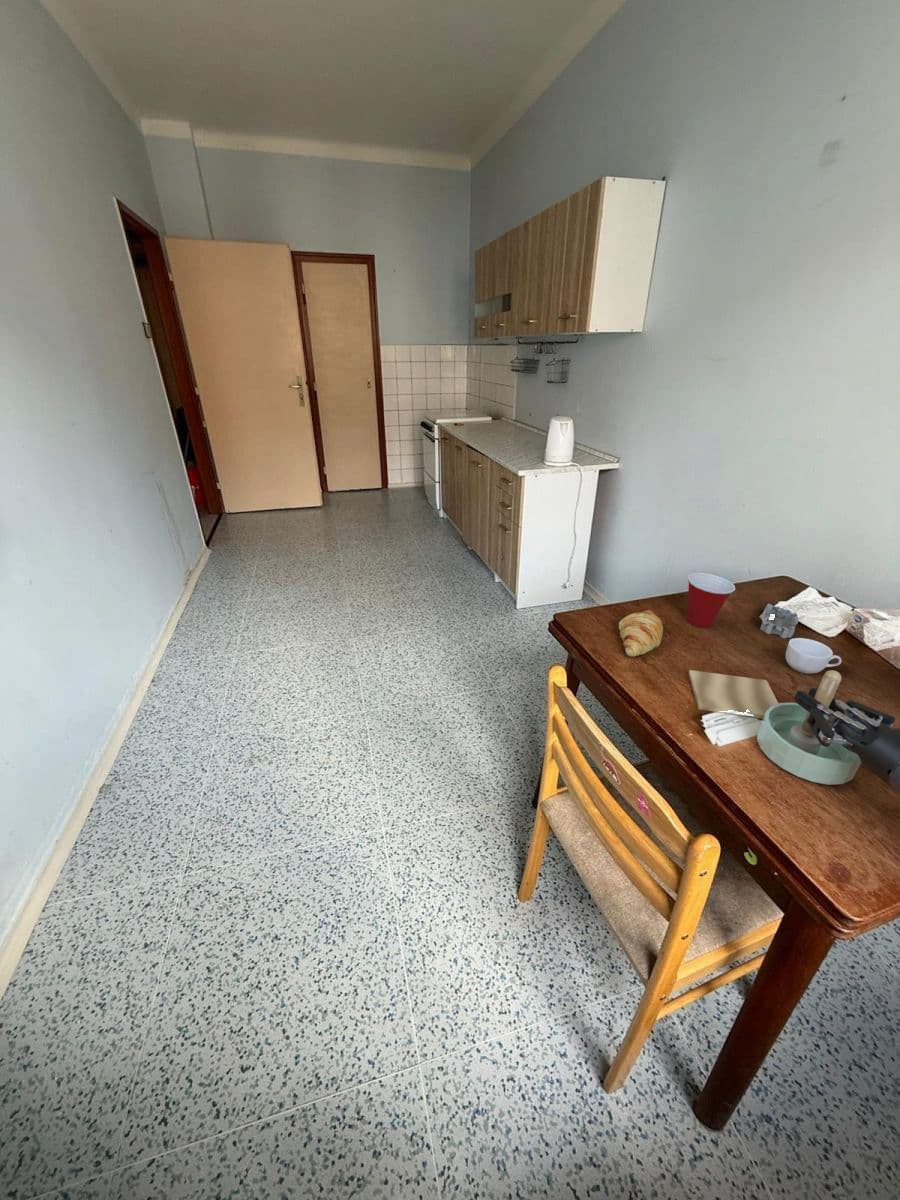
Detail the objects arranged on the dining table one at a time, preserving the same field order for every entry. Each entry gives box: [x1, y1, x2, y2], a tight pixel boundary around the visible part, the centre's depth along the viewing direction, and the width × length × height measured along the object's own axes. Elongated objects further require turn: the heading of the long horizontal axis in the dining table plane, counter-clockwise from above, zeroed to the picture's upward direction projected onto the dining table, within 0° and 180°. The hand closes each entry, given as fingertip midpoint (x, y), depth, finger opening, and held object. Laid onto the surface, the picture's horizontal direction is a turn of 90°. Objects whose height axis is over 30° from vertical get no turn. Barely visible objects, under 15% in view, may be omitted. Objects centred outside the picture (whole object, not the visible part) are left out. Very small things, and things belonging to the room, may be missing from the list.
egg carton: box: [759, 603, 800, 639], centre depth 118 cm, size 11×8×4 cm
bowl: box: [756, 702, 862, 786], centre depth 81 cm, size 14×14×6 cm
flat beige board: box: [688, 669, 779, 720], centre depth 96 cm, size 15×12×1 cm
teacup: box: [785, 637, 842, 675], centre depth 102 cm, size 10×8×5 cm
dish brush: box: [786, 670, 842, 755], centre depth 78 cm, size 5×5×16 cm
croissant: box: [618, 609, 664, 658], centre depth 114 cm, size 21×10×8 cm, turn 150°
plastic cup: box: [686, 572, 736, 629], centre depth 119 cm, size 11×11×12 cm
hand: (804, 693), depth 80 cm, fingers closed on dish brush
